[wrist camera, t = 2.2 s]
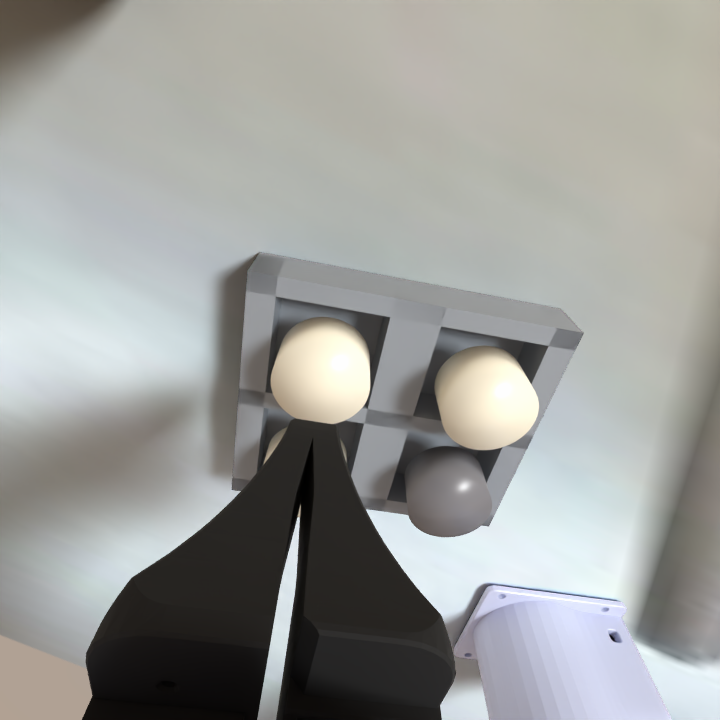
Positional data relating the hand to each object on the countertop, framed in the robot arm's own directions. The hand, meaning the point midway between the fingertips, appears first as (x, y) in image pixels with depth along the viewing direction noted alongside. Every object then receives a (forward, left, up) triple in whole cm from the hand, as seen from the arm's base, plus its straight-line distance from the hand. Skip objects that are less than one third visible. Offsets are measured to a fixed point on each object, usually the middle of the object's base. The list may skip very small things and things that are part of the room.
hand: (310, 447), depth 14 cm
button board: (-3, +3, -8) cm, 9 cm away
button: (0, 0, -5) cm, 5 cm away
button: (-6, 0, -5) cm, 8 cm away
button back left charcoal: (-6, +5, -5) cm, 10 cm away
